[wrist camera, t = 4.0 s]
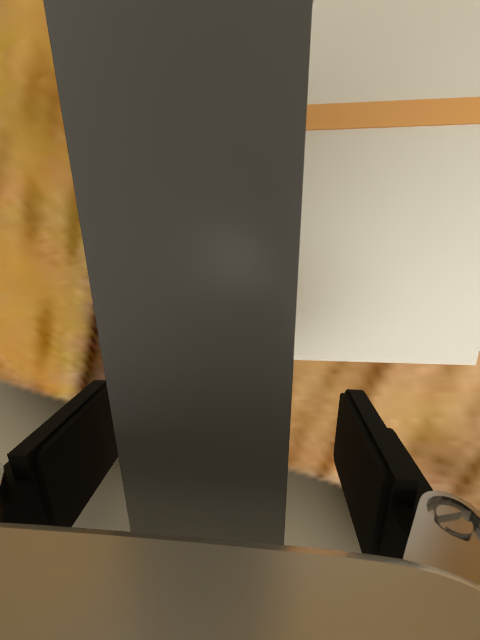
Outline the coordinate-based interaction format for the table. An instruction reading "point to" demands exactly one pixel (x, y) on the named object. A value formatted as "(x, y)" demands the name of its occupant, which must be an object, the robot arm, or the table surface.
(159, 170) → the handle
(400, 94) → the base
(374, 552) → the robot arm
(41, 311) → the table surface
